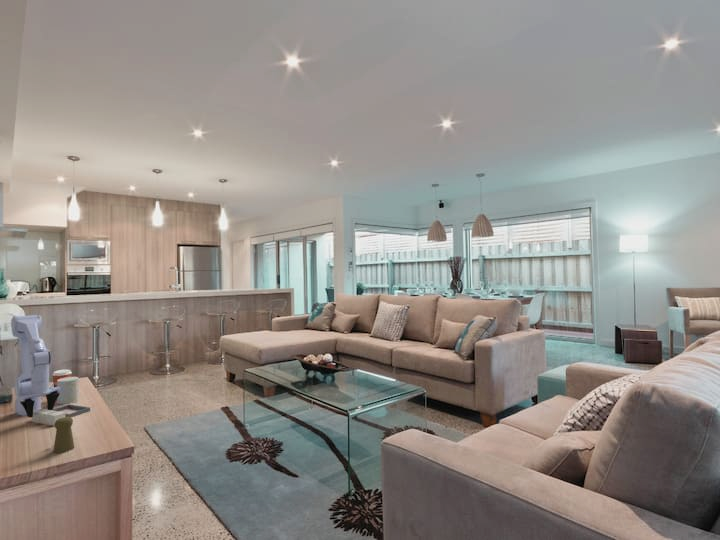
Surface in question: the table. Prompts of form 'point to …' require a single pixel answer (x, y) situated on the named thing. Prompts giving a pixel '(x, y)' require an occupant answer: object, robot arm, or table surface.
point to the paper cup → (60, 375)
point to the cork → (63, 435)
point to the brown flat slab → (39, 423)
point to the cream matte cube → (37, 415)
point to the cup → (68, 390)
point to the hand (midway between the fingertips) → (40, 413)
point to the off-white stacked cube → (45, 416)
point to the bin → (81, 408)
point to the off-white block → (55, 417)
